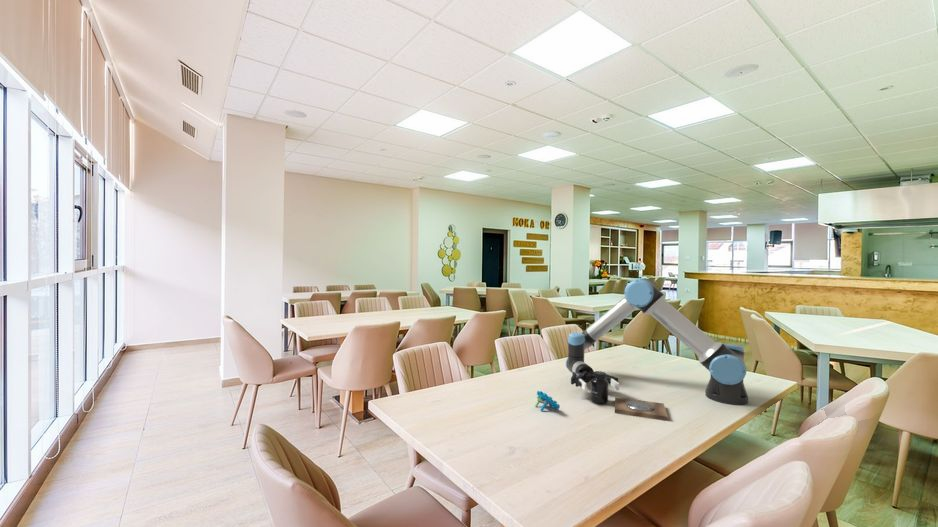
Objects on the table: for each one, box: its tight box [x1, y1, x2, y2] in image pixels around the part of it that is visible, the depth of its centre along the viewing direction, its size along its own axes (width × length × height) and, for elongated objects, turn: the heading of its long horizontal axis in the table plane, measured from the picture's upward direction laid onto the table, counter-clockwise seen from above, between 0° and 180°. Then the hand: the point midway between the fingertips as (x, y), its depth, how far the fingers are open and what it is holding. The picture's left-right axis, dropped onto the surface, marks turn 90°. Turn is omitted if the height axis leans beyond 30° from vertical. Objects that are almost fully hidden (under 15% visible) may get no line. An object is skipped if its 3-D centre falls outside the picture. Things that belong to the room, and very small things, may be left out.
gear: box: [534, 390, 560, 412], centre depth 148 cm, size 11×6×10 cm
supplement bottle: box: [590, 370, 609, 406], centre depth 157 cm, size 7×7×12 cm
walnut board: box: [614, 396, 669, 422], centre depth 149 cm, size 18×14×2 cm
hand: (602, 387), depth 154 cm, fingers open, 13 cm apart
